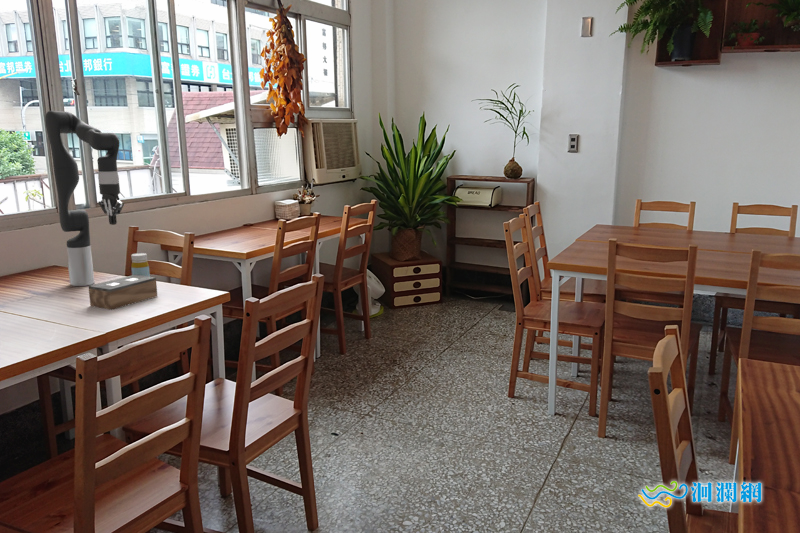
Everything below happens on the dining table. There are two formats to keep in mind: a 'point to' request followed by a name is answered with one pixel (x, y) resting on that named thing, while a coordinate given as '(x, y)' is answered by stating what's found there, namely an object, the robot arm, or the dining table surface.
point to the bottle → (140, 264)
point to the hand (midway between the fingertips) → (113, 224)
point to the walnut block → (122, 291)
